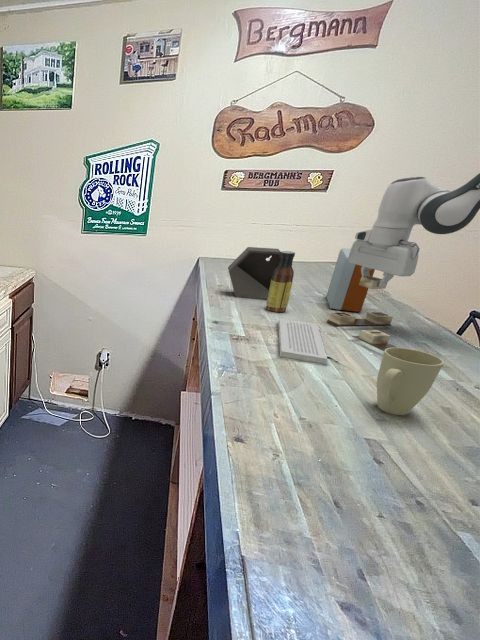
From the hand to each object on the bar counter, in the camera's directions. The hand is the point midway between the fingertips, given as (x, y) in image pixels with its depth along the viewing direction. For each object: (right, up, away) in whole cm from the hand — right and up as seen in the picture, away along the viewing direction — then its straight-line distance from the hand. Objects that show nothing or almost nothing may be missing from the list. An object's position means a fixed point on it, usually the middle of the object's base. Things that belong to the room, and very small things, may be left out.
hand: (372, 284), depth 137 cm
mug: (-32, -33, -43) cm, 63 cm away
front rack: (-8, -20, -13) cm, 25 cm away
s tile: (0, -1, 0) cm, 1 cm away
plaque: (-27, -18, -7) cm, 33 cm away
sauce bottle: (-18, -6, +20) cm, 27 cm away
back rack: (0, -12, +6) cm, 13 cm away
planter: (-16, +2, +36) cm, 40 cm away
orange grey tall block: (+10, -3, +26) cm, 28 cm away
